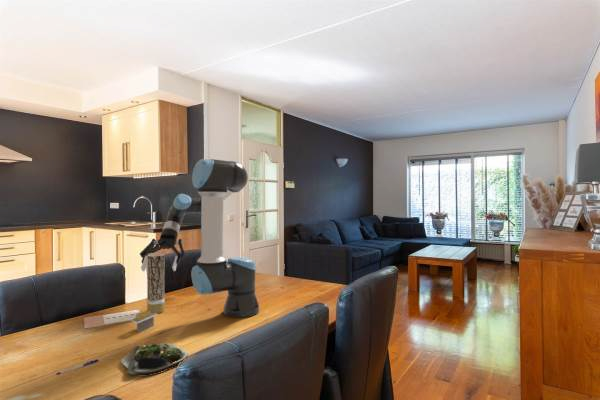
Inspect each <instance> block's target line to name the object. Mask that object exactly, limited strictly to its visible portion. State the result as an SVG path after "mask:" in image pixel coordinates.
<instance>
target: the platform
mask: <svg viewBox="0 0 600 400" xmlns="http://www.w3.org/2000/svg"><path fill="white" fill-rule="evenodd" d="M140 314H141V315H140ZM140 314H137V315H136V318H134V319H133V320H131V322H132V323H134V324H136V331H137V334H140V333H143V332H144V331H146V330H148V329H150V328H152V327H154V325H155V321H154V319H155V317H156V316H158V313H151V311H149V313H148V312H147V310H145V311H142V312H140Z"/></svg>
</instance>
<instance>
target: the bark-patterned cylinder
mask: <svg viewBox="0 0 600 400" xmlns="http://www.w3.org/2000/svg"><path fill="white" fill-rule="evenodd" d="M165 256H166V254H165V252H155V253H150V254H148V263H147V274H146V275H147V283H146V284H147V288H146V291H147V292H146V293H147V295H146V297H147V299H146V300H147V301H146V303H147V304H146V306H147V307H146V309H147V310H146V311H147V312H148V313H149V311H151V313H157V314H161V313H163V312H164V311H165V282H166V281H165V275H166V274H165V272H166V269H165V266H166V264H165V261H166V260H165V259H166V258H165Z"/></svg>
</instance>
